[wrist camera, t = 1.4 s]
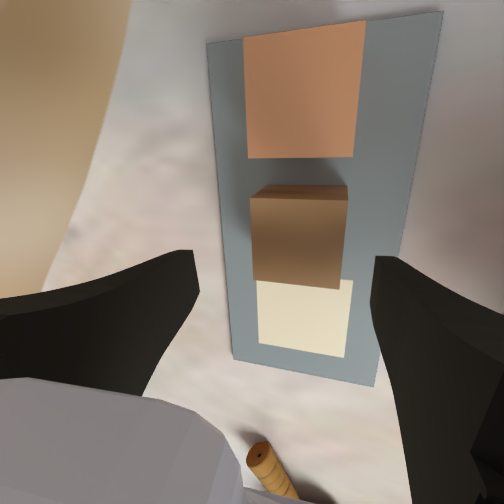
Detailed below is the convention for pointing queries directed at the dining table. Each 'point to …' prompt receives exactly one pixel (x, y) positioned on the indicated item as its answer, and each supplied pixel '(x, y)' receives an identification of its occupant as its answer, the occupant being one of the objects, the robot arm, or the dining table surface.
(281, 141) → the terracotta block
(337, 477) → the dining table surface
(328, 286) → the walnut block
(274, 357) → the board
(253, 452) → the kendama
